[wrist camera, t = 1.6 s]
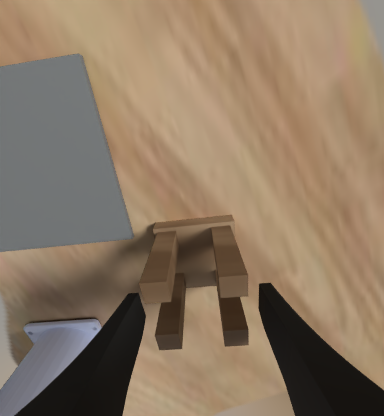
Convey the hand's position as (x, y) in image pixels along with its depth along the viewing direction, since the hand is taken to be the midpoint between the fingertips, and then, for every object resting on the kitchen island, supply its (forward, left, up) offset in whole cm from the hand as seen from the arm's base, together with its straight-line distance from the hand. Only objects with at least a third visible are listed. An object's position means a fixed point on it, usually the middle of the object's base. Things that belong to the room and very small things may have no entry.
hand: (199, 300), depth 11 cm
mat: (+8, +11, -5) cm, 15 cm away
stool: (0, 0, -5) cm, 5 cm away
